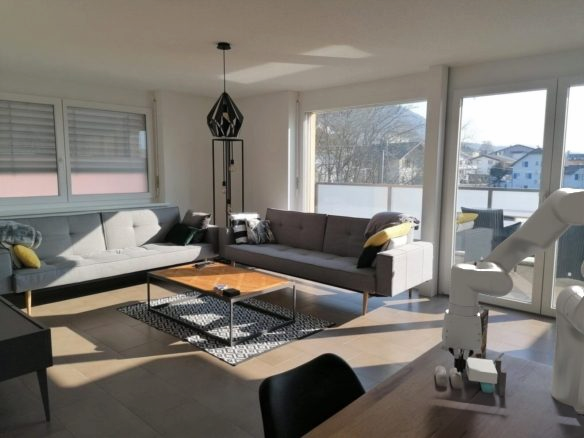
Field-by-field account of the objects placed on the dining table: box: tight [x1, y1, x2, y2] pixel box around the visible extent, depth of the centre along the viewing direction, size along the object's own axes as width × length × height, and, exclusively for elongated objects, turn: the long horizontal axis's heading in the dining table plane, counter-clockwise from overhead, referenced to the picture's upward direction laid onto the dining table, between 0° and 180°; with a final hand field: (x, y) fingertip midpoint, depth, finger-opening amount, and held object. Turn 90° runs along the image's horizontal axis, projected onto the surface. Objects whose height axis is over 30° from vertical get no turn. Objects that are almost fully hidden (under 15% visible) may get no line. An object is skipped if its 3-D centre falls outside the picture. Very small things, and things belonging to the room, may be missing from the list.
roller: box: [479, 382, 494, 394], centre depth 121 cm, size 7×3×3 cm, turn 164°
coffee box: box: [458, 308, 490, 359], centre depth 139 cm, size 9×6×16 cm
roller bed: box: [434, 357, 507, 397], centre depth 122 cm, size 18×9×8 cm, turn 74°
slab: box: [465, 357, 498, 385], centre depth 121 cm, size 7×8×3 cm
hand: (459, 370), depth 122 cm, fingers closed
